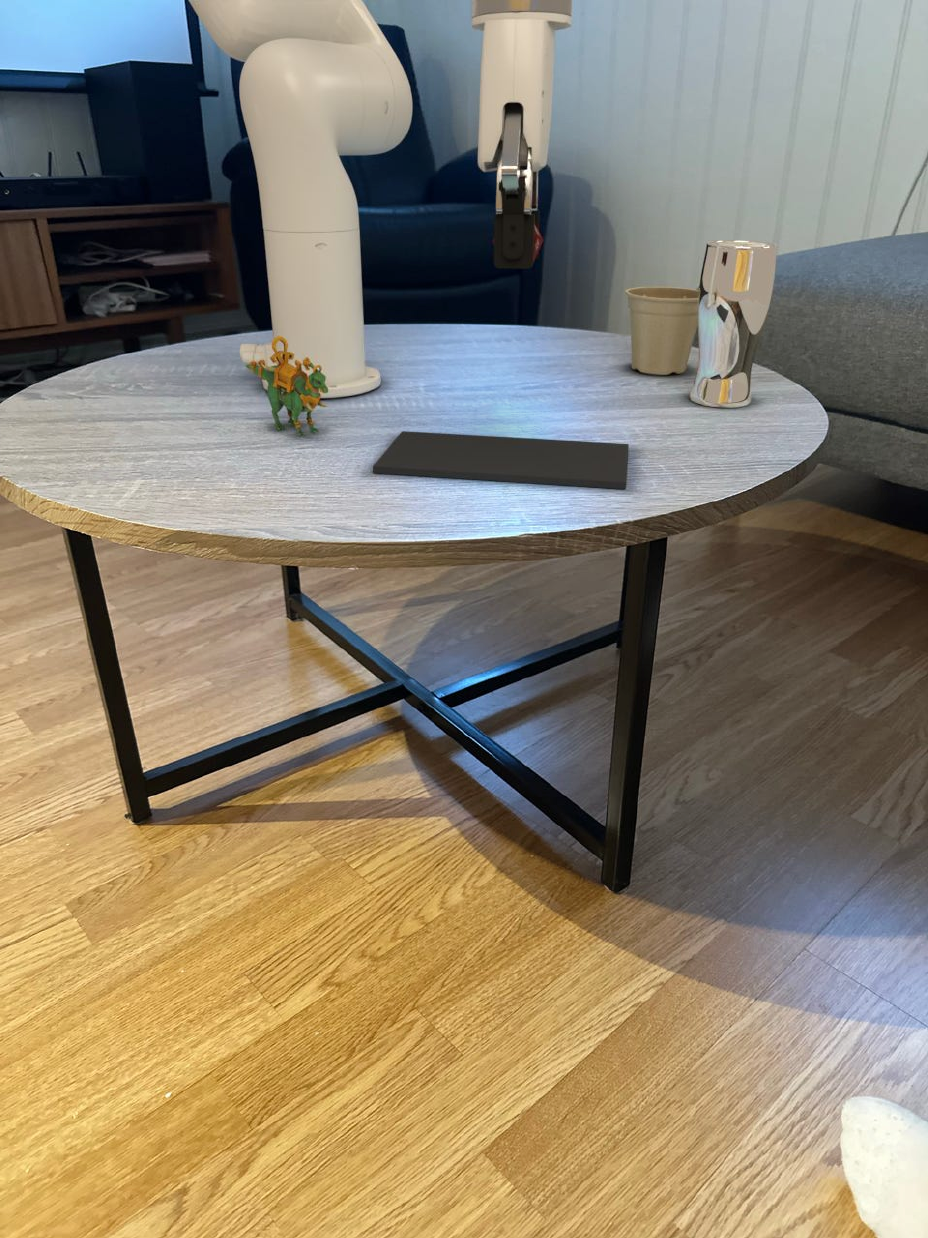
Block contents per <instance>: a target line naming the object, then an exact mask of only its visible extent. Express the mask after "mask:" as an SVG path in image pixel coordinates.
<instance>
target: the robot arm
mask: <svg viewBox="0 0 928 1238" xmlns="http://www.w3.org/2000/svg"><path fill="white" fill-rule="evenodd" d="M188 3H190V5H191V7H192V8H193V10H194V12H195V13H196V15H197V17H198V19H199V20H200V21H201V23H202V24H203V26H204V28H205V30H206V31H207V33H208V34H209V35H210V37H211V39H212V41H214V43H215V44H216V45H217V46H218V48H219V49H220V50H221V51H222V52H223V54H225V55H227V56H228V57H230V58H231V59H234V60H236V61H239V62H243V63H244V64H243V66H242V69H241V72H240V77H239V86H238V89H239V91H238V92H239V102H240V109H241V113H242V118H243V122H244V125H245V129H246V133H247V136H248V140H249V143H250V148H251V152H252V157H253V162H254V166H255V172H256V178H257V184H258V185H257V186H258V191H259V201H260V202H259V203H260V210H261V220H262V221H261V222H262V229H263V241H264V250H265V260H266V261H265V262H266V273H267V282H268V294H269V305H270V306H269V307H270V315H271V328H272V337H273V338H272V340H271V341H269V342H268V343H266V344H260V343H248V342H247V343H245V342H244V343H241V344H240V346H239V357H240V360H241V362H242V364H244V365H248V364H250V361H256V363H257V365H259V364H258V361H260V360H264V361H265V366H268V367H270V366H275V365H277V362H278V361H277V362H276V363H273V362H272V361H271V359H270V357H271V356H272V355H273V354H275V352H274V350H273V349H272V342H273V339H274V338H275V337H277V336H281V337H283V338H285V340H286V341H287V343H288V348H287V352H291V353H293V354H294V358H293V360H290V359H289V362H288V363H289V364H290V365H292V366H294V367H295V368H296V365H295V360H298V361H299V362H300V363H302V365H301V366H302V371H304V372H305V373H306V374H307V376H309V375H310V374H312V373H313V369H312V368H311V367H309V366H308V368H310V370H306V369H305V366H304V365H303V359H305V357H308V358H309V360H310V362H312V364H313V365H314V366H316V365H320V366H321V367H322V370H321V373H322V374H323V375H325V376H326V379H325V384H326V386H327V388H328V393H322V392H320V389H319V393H321V398H320V399H334V398H335V399H336V398H344V397H351V396H356V395H362V394H365V393H368V392H371V391H373V390H375V389H377V388H378V387H380V385H381V379H382V378H381V373H380V371H379V370H378V369H376V368H374V367H371V366H368V365H366V347H365V346H366V345H365V321H364V300H363V280H362V279H363V278H362V255H361V254H362V253H361V236H360V235H361V234H360V233H361V231H360V217H359V216H360V215H359V206H358V200H357V196H356V193H355V190H354V187H353V184H352V182H351V179H350V177H349V175H348V173H347V171H346V169H345V167H344V165H343V162H342V160H341V158H340V156H372V155H379V154H383V153H386V152H390V151H391V150H392V149H395V148H396V147H397V146H398V145H400V144H401V143H402V142H403V140H404V139H405V138H406V135H407V134H408V131H409V130H410V128H411V127H410V126H411V123H412V117H413V97H412V91H411V86H410V83H409V80H408V77H407V74H406V71H405V69H404V66H403V64H402V63H401V61H400V59H399V58H398V56H397V54H396V52H395V51H394V49H393V48H392V46H391V44H390V43H389V41H388V40H387V38H386V37H385V35H384V33H383V32H382V29H381V28H380V27H379V25H378V24H377V21H376V20H375V19H374V17H373V16H372V14H371V12H370V10H369V9H368V8H367V5H366V4H365V3H364V1H363V0H188ZM572 8H573V0H471V28H472V29H473V30H479V31H483V33H482V44H481V59H480V78H479V109H478V110H479V111H478V119H479V120H478V138H477V139H478V140H477V142H478V143H477V166H478V168H479V169H480V170H481V171H482V172H483V173H490V172H495V171H496V189H495V190H496V191H495V192H496V193H495V194H496V195H495V214H494V215H493V239H494V244H493V266H494V267H495V268H496V269H517V270H519V269H521V270H522V269H523V270H525V269H526V270H527V269H528V270H529V269H531V268H532V267H533V265H534V263H535V262H536V261H537V260H538V259H539V252H538V253H537V255H536V257H535V260H534V262H533V259H534V223H535V225H536V227H537V228H538V230H539V231H540V210H538V206H539V205H538V204H539V171H541V170H542V169H544V168H545V167H546V166H547V163H548V155H549V154H548V153H549V145H550V137H551V136H550V135H551V123H552V111H553V96H554V95H553V93H554V91H553V90H554V73H555V72H554V71H555V43H556V31H560V30H565V29H568V28H571V26H572V12H573V9H572ZM276 349H277V352H278V351H284V344H283V343H282V342H281V341H278V342H277V343H276ZM282 355H283V354H281V356H282ZM275 359H276V358H275ZM276 360H277V359H276ZM278 363H279V362H278ZM251 365H252V364H251ZM317 370H318V371H319V367H318V368H317ZM261 380H262V381H261V382H262V387H263V389H264V390H266V391H267V389H268V383H267V381H266V380H263V379H262V378H261Z"/></svg>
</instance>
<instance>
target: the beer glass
mask: <svg viewBox="0 0 928 1238" xmlns="http://www.w3.org/2000/svg"><path fill="white" fill-rule="evenodd" d="M777 252H778V244H777V243H774V242H769V241H768V242H767V241H758V240H743V239H742V240H741V239H737V240H735V239H733V240H732V239H729V240H728V239H725V240H723V239H722V240H721V239H719V240H712V241H711V240H710V241H707V242H706V247H705V252H704V257H703V260H702V261H703V262H702V267H701V273H700V277H699V283H698V284H699V285H698V290H699V292H698V325H697V337H698V361H697V362H698V363H697V369H696V372H695V373H696V374H695V378H694V381H693V384H692V388H691V390H690V395H689V399H690V401H692V402H693V403H695V404H697V405H701V406H705V407H710V408H720V409H722V408H723V409H734V408H735V409H736V408H742V407H747V406H748V405H750V404H751V402H752V370H753V365H754V359H755V355H756V352H757V348H758V346H759V344H760V341H761V340H760V339H761V337H762V334H763V332H764V328H765V324H766V321H767V318H768V315H769V312H770V307H771V303H772V297H773V292H774V287H775V278H776V277H775V276H776V266H777V254H778V253H777Z"/></svg>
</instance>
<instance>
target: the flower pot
mask: <svg viewBox="0 0 928 1238" xmlns="http://www.w3.org/2000/svg"><path fill="white" fill-rule="evenodd" d="M698 292H699V289H694V288H689V287H688V288H687V287H677V286H676V287H675V286H638V287H631V288H628V289H625V290H624V294H625V296H627V307H628V308H629V315H630V316H629V317H630V340H631V341H630V346H631V347H630V349H631V369H632V370H635V371H636V370H637V371H639V372H640V373H643V374H646V375H657V376H668V375H670V374H672V373H674V374H677V375H680V374H683V373H685V372H686V370H687V367H688V363H689V358H690V355H691V352H692V347H693V344H694V339H695V337H696V332H697V330H698Z"/></svg>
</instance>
